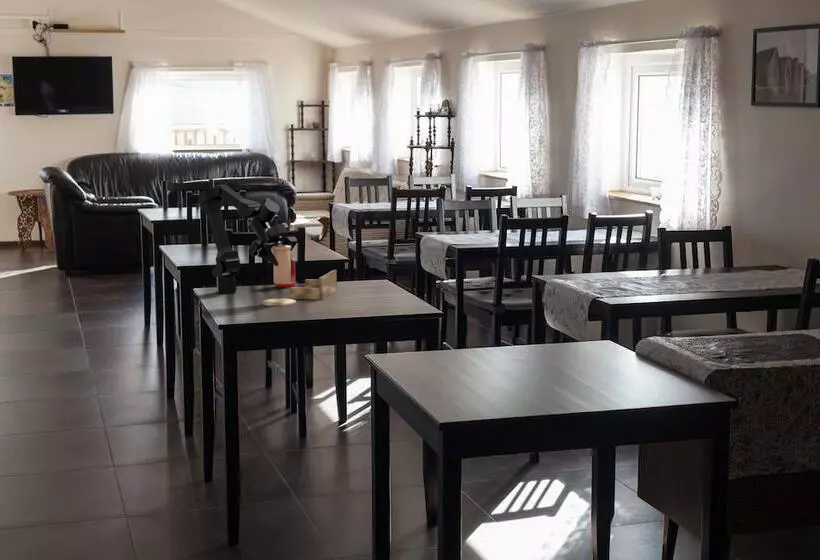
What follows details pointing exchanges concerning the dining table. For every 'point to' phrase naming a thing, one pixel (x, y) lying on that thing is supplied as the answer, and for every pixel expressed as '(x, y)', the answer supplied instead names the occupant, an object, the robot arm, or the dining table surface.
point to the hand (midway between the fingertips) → (284, 264)
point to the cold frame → (316, 287)
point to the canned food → (291, 276)
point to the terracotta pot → (282, 264)
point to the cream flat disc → (278, 302)
